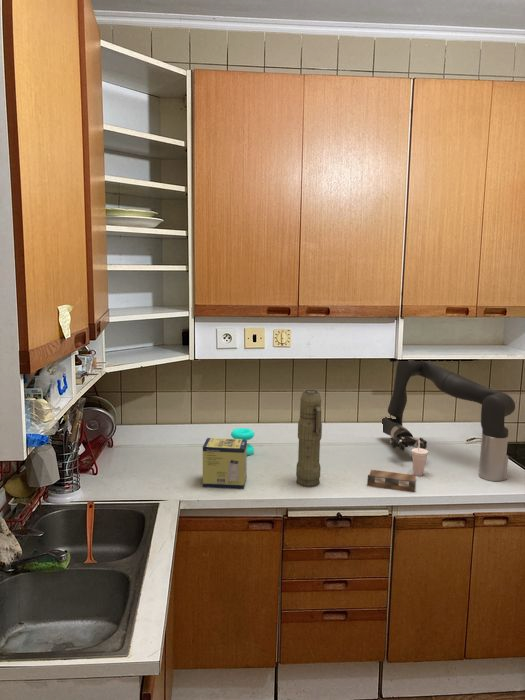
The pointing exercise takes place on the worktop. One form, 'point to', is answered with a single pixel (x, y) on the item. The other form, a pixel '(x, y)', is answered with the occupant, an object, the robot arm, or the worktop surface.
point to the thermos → (309, 439)
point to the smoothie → (419, 460)
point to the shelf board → (391, 480)
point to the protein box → (225, 463)
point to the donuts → (244, 437)
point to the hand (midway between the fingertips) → (413, 448)
